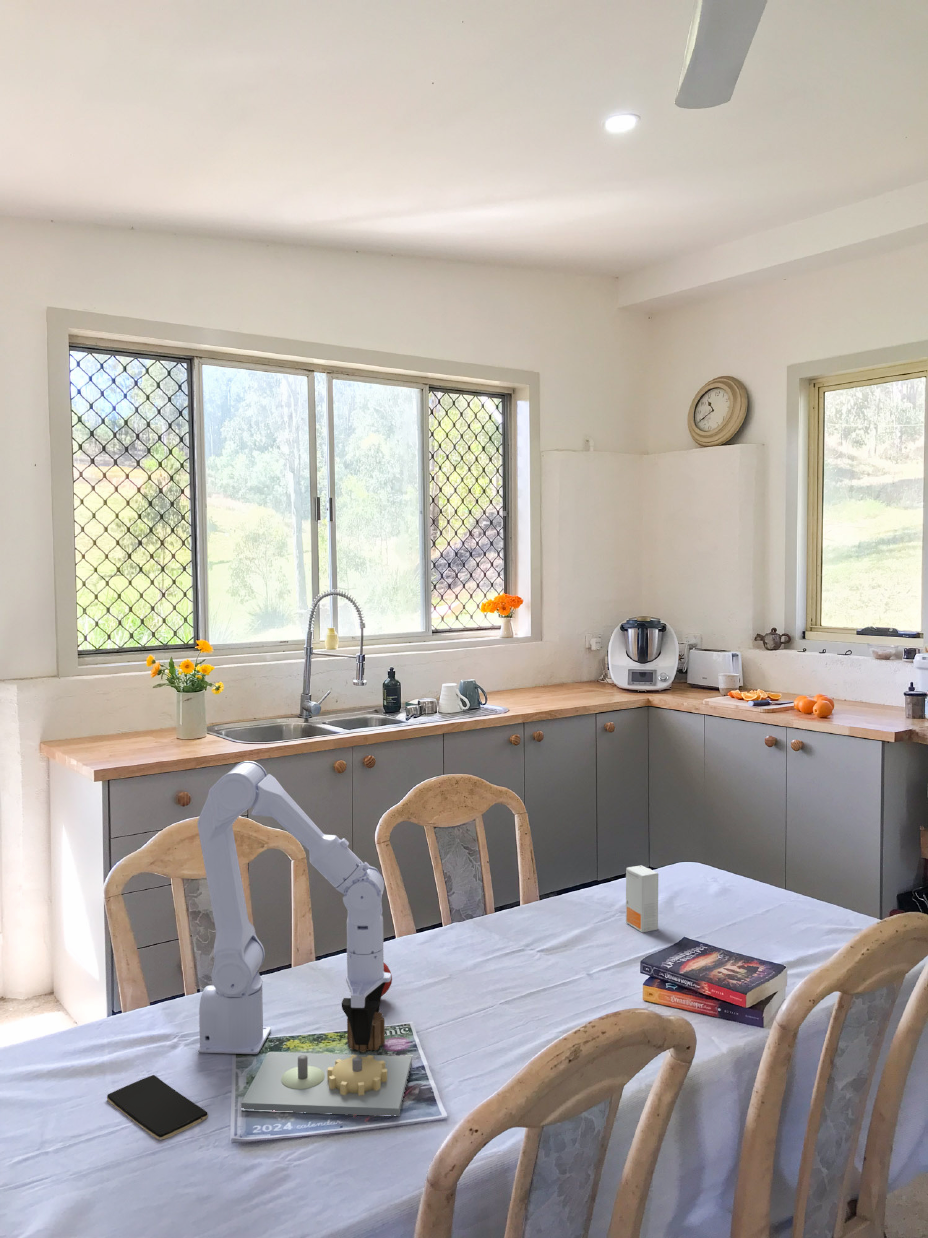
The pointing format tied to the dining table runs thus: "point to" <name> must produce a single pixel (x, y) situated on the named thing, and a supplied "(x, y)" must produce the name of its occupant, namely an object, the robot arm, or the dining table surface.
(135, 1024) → the dining table surface
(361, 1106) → the gear board
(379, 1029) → the walnut gear
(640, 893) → the skincare box
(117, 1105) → the smartphone
